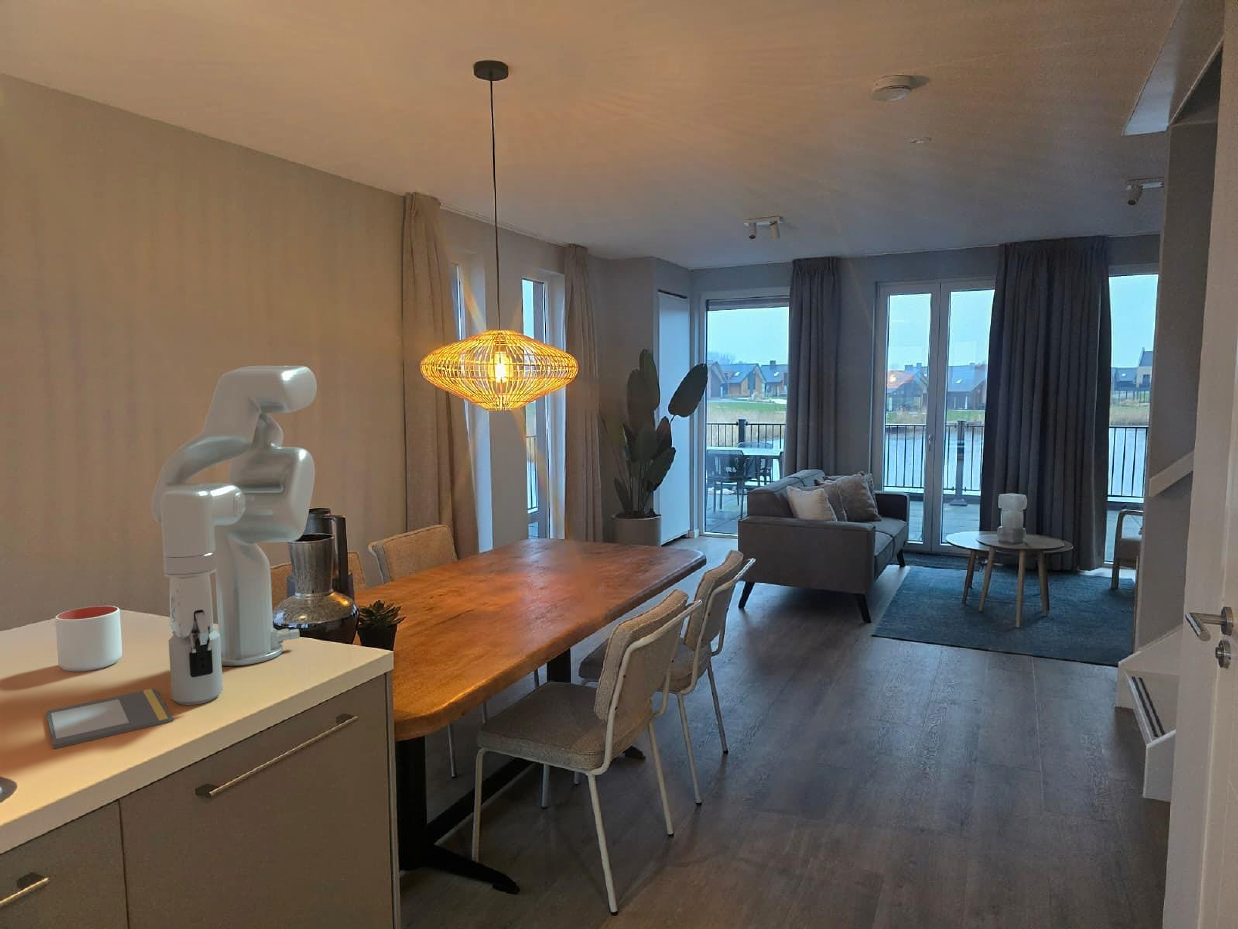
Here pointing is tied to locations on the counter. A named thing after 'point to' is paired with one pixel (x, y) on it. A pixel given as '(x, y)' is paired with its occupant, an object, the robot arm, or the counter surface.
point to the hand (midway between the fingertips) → (195, 667)
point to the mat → (106, 717)
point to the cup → (88, 638)
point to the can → (182, 683)
